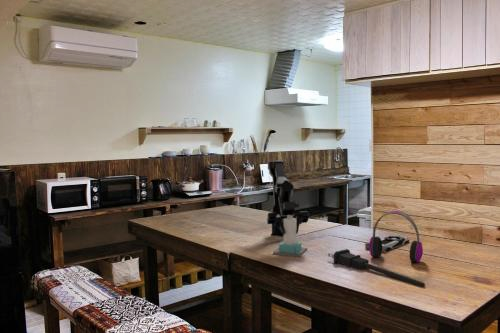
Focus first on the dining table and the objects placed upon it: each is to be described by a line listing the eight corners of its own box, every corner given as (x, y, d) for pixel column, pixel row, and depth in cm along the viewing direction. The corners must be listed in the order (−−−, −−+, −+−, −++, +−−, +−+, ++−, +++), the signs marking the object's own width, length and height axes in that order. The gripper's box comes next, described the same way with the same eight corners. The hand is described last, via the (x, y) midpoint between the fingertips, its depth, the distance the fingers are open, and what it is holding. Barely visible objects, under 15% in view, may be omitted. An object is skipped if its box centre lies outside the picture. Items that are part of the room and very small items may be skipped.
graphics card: (365, 242, 190) (392, 233, 208) (365, 250, 191) (392, 240, 208) (385, 246, 183) (412, 236, 200) (385, 254, 183) (411, 243, 201)
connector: (283, 247, 188) (283, 215, 187) (290, 245, 191) (290, 214, 190) (290, 249, 185) (289, 216, 184) (296, 247, 188) (296, 215, 187)
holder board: (273, 254, 185) (272, 245, 185) (282, 247, 196) (281, 239, 196) (299, 256, 180) (299, 247, 180) (307, 249, 191) (307, 241, 191)
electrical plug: (339, 257, 179) (339, 245, 178) (430, 289, 146) (431, 275, 145) (324, 261, 174) (325, 249, 173) (415, 295, 141) (416, 280, 140)
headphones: (423, 260, 173) (424, 211, 171) (420, 266, 165) (421, 215, 164) (372, 253, 183) (372, 208, 182) (367, 258, 176) (367, 211, 174)
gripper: (267, 195, 189) (271, 224, 179) (308, 193, 191) (314, 222, 181) (265, 209, 198) (269, 238, 188) (304, 207, 200) (310, 236, 190)
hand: (290, 233), depth 186 cm, fingers closed on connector, 5 cm apart
